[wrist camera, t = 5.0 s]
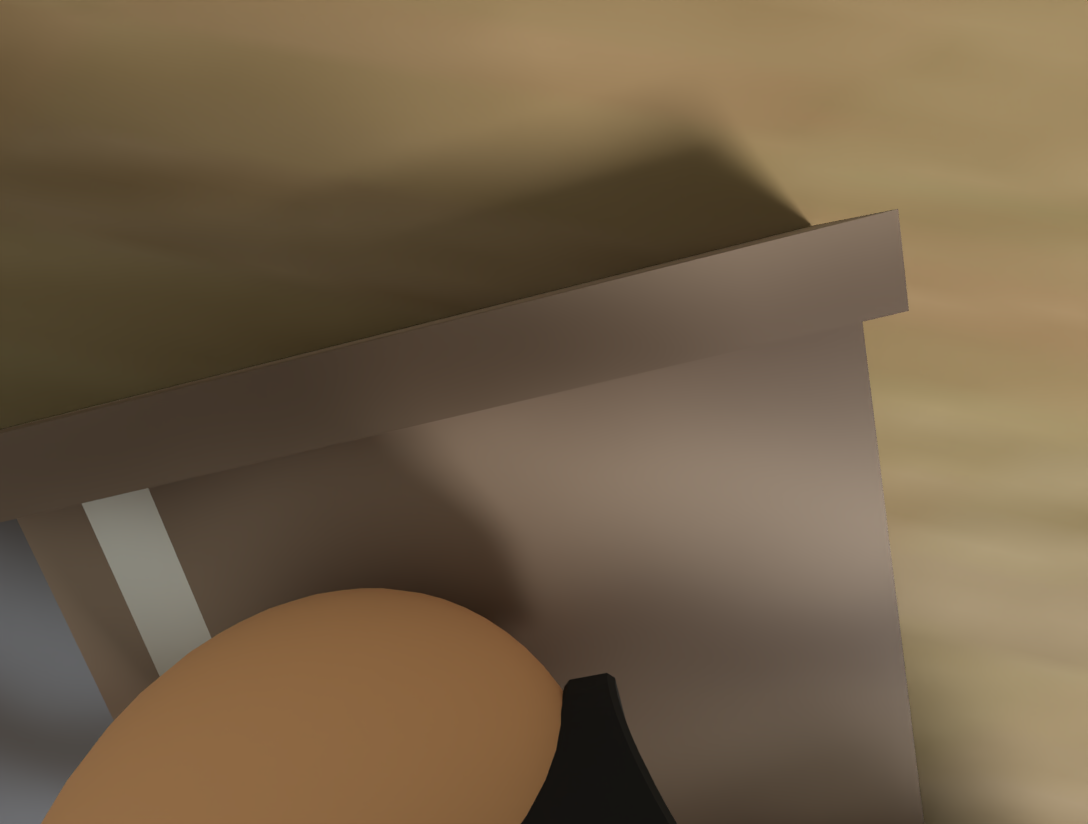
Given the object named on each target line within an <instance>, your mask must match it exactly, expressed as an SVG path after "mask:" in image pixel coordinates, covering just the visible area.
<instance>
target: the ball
mask: <svg viewBox="0 0 1088 824" xmlns="http://www.w3.org/2000/svg"><path fill="white" fill-rule="evenodd" d="M562 698H563V691H562V689H561V688H560V686H559V685H558V683H557V682H556V681H555V680H554V678H553V677H552V676H551V675H550V673H549V672H548V671H547V670H546V668H545V667H544V666H543V665H542V664H541V663H540V662H539V661H538V660H537V659H536V658H535V657H534V656H533V655H532V654H531V653H530V652H529V651H528V650H527V648H525V647H524V646H523V645H522V644H521V643H519V642H518V641H517V640H516V639H514V638H513V637H512V636H511V635H510V634H508V633H507V632H506V631H504V630H503V629H501V628H500V627H498V626H497V625H495V624H494V623H492V622H491V621H489V620H488V619H486V618H484V617H482V616H481V615H479V614H477V613H475V612H473V611H471V610H469V609H467V608H465V607H463V606H460V605H458V604H455V603H452V602H450V601H447V600H445V599H442V598H438V597H434V596H430V595H427V594H423V593H417V592H409V591H402V590H394V589H385V588H359V589H349V590H340V591H333V592H327V593H320V594H315V595H311V596H308V597H304V598H301V599H298V600H294V601H291V602H288V603H285V604H282V605H279V606H275V607H272V608H269V609H267V610H265V611H263V612H260V613H258V614H256V615H254V616H252V617H250V618H248V619H245V620H243V621H241V622H239V623H237V624H235V625H234V626H232V627H230V628H228V629H226V630H224V631H222V632H221V633H219V634H217V635H216V636H214V637H213V638H211V639H209V640H208V641H206V642H205V643H203V644H202V645H200V646H199V647H197V648H195V649H194V650H192V651H191V652H189V653H188V654H187V655H186V656H184V657H183V658H182V659H181V660H180V661H178V662H177V663H176V664H175V665H173V666H172V667H171V668H170V669H169V670H167V671H166V672H165V673H164V674H163V675H161V676H160V677H159V678H158V679H157V680H155V681H154V682H153V683H152V684H151V685H149V686H148V687H147V688H146V689H145V690H143V691H142V692H141V693H140V694H139V695H138V696H137V697H136V698H135V699H134V700H133V701H132V702H131V703H130V704H129V705H128V707H127V708H126V709H125V710H124V711H123V712H122V713H121V714H120V715H119V716H118V717H117V718H116V719H115V720H114V721H113V722H112V723H111V724H110V725H109V727H108V728H107V729H106V730H105V732H104V733H103V734H102V736H101V737H100V738H99V740H98V741H97V742H96V743H95V745H94V746H93V747H92V749H91V750H90V751H89V753H88V754H87V755H86V756H85V758H84V759H83V760H82V762H81V763H80V764H79V766H78V767H77V768H76V770H75V771H74V772H73V773H72V775H71V776H70V777H69V779H68V780H67V781H66V783H65V785H64V786H63V788H62V790H61V791H60V793H59V795H58V796H57V798H56V800H55V801H54V803H53V804H52V806H51V808H50V809H49V811H48V813H47V814H46V816H45V818H44V819H43V821H42V823H41V824H521V823H522V821H523V820H524V818H525V817H526V816H527V814H528V812H529V810H530V808H531V806H532V804H533V803H534V801H535V799H536V797H537V795H538V793H539V791H540V789H541V787H542V786H543V784H544V782H545V780H546V777H547V774H548V771H549V768H550V766H551V763H552V760H553V757H554V754H555V751H556V748H557V741H558V736H559V731H560V726H561V709H562Z"/></svg>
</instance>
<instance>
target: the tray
mask: <svg viewBox="0 0 1088 824" xmlns="http://www.w3.org/2000/svg"><path fill="white" fill-rule="evenodd" d="M905 311H909V309H908V299H907V290H906V280H905V271H904V261H903V252H902V242H901V232H900V223H899V213H898V209H895V210H890V211H885V212H880V213H875V214H870V215H865V216H860V217H855V218H850V219H844V220H839V221H834V222H829V223H824V224H819V225H814V226H810V227H806V228H802V229H798V230H794V231H790V232H786V233H782V234H778V235H774V236H770V237H766V238H762V239H758V240H754V241H750V242H746V243H742V244H738V245H734V246H730V247H726V248H722V249H718V250H714V251H710V252H706V253H702V254H698V255H694V256H690V257H686V258H682V259H678V260H674V261H670V262H666V263H662V264H658V265H654V266H650V267H646V268H642V269H638V270H634V271H630V272H626V273H622V274H618V275H614V276H611V277H607V278H603V279H599V280H595V281H591V282H587V283H583V284H579V285H575V286H571V287H567V288H563V289H559V290H555V291H551V292H547V293H543V294H539V295H535V296H531V297H527V298H523V299H519V300H515V301H511V302H507V303H503V304H499V305H495V306H491V307H487V308H483V309H479V310H475V311H471V312H467V313H463V314H459V315H455V316H451V317H447V318H443V319H439V320H435V321H431V322H427V323H423V324H419V325H415V326H411V327H407V328H403V329H399V330H395V331H391V332H387V333H383V334H379V335H375V336H371V337H367V338H363V339H359V340H355V341H351V342H347V343H343V344H339V345H336V346H332V347H328V348H324V349H320V350H316V351H312V352H308V353H304V354H300V355H296V356H292V357H288V358H284V359H280V360H276V361H272V362H268V363H264V364H260V365H256V366H252V367H248V368H244V369H240V370H236V371H232V372H228V373H224V374H220V375H216V376H212V377H208V378H204V379H200V380H196V381H192V382H188V383H184V384H180V385H176V386H172V387H168V388H164V389H160V390H156V391H152V392H148V393H144V394H140V395H136V396H132V397H128V398H124V399H120V400H116V401H112V402H108V403H104V404H100V405H96V406H92V407H88V408H84V409H80V410H76V411H72V412H68V413H64V414H61V415H57V416H53V417H49V418H45V419H41V420H37V421H33V422H29V423H25V424H21V425H17V426H13V427H9V428H5V429H1V430H0V824H41V823H42V821H43V819H44V818H45V816H46V814H47V813H48V811H49V809H50V808H51V806H52V804H53V803H54V801H55V800H56V798H57V796H58V795H59V793H60V791H61V790H62V788H63V786H64V785H65V783H66V781H67V780H68V779H69V777H70V776H71V775H72V773H73V772H74V771H75V770H76V768H77V767H78V766H79V764H80V763H81V762H82V760H83V759H84V758H85V756H86V755H87V754H88V753H89V751H90V750H91V749H92V747H93V746H94V745H95V743H96V742H97V741H98V740H99V738H100V737H101V736H102V734H103V733H104V732H105V730H106V729H107V728H108V727H109V725H110V724H111V723H112V722H113V721H114V720H115V719H116V718H117V717H118V716H119V715H120V714H121V713H122V712H123V711H124V710H125V709H126V708H127V707H128V705H129V704H130V703H131V702H132V701H133V700H134V699H135V698H136V697H137V696H138V695H139V694H140V693H141V692H142V691H143V690H145V689H146V688H147V687H148V686H149V685H151V684H152V683H153V682H154V681H155V680H157V679H158V678H159V677H160V676H161V675H163V674H164V673H165V672H166V671H167V670H169V669H170V668H171V667H172V666H173V665H175V664H176V663H177V662H178V661H180V660H181V659H182V658H183V657H184V656H186V655H187V654H188V653H189V652H191V651H192V650H194V649H195V648H197V647H199V646H200V645H202V644H203V643H205V642H206V641H208V640H209V639H211V638H213V637H214V636H216V635H217V634H219V633H221V632H222V631H224V630H226V629H228V628H230V627H232V626H234V625H235V624H237V623H239V622H241V621H243V620H245V619H248V618H250V617H252V616H254V615H256V614H258V613H260V612H263V611H265V610H267V609H269V608H272V607H275V606H279V605H282V604H285V603H288V602H291V601H294V600H298V599H301V598H304V597H308V596H311V595H315V594H320V593H327V592H333V591H340V590H349V589H359V588H385V589H394V590H402V591H409V592H417V593H423V594H427V595H430V596H434V597H438V598H442V599H445V600H447V601H450V602H452V603H455V604H458V605H460V606H463V607H465V608H467V609H469V610H471V611H473V612H475V613H477V614H479V615H481V616H482V617H484V618H486V619H488V620H489V621H491V622H492V623H494V624H495V625H497V626H498V627H500V628H501V629H503V630H504V631H506V632H507V633H508V634H510V635H511V636H512V637H513V638H514V639H516V640H517V641H518V642H519V643H521V644H522V645H523V646H524V647H525V648H527V650H528V651H529V652H530V653H531V654H532V655H533V656H534V657H535V658H536V659H537V660H538V661H539V662H540V663H541V664H542V665H543V666H544V667H545V668H546V670H547V671H548V672H549V673H550V675H551V676H552V677H553V678H554V680H555V681H556V682H557V683H558V685H559V686H560V688H561V689H562V691H563V690H564V686H565V685H566V684H567V682H568V681H569V680H570V679H576V678H581V677H587V676H592V675H597V674H603V673H608V674H610V675H611V676H613V677H615V680H616V684H617V688H618V691H619V695H620V699H621V703H622V707H623V711H624V715H625V719H626V722H627V725H628V727H629V730H630V733H631V735H632V737H633V740H634V742H635V744H636V746H637V749H638V751H639V753H640V755H641V757H642V759H643V761H644V763H645V765H646V767H647V769H648V771H649V773H650V775H651V777H652V779H653V781H654V783H655V785H656V787H657V789H658V791H659V793H660V794H661V796H662V798H663V800H664V802H665V804H666V805H667V807H668V809H669V811H670V812H671V814H672V816H673V818H674V819H675V821H676V823H677V824H924V819H923V811H922V803H921V794H920V786H919V778H918V770H917V762H916V754H915V746H914V738H913V730H912V721H911V713H910V705H909V697H908V689H907V681H906V673H905V665H904V656H903V648H902V640H901V632H900V624H899V616H898V608H897V600H896V591H895V583H894V575H893V567H892V559H891V551H890V543H889V535H888V527H887V518H886V510H885V502H884V494H883V486H882V478H881V470H880V462H879V453H878V445H877V437H876V429H875V421H874V413H873V405H872V397H871V388H870V380H869V372H868V364H867V356H866V348H865V340H864V332H863V324H862V322H863V321H867V320H871V319H875V318H880V317H884V316H888V315H893V314H897V313H901V312H905Z"/></svg>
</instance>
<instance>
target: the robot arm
mask: <svg viewBox="0 0 1088 824" xmlns="http://www.w3.org/2000/svg"><path fill="white" fill-rule="evenodd" d="M521 824H677V823H676V821H675V819H674V818H673V816H672V814H671V812H670V811H669V809H668V807H667V805H666V804H665V802H664V800H663V798H662V796H661V794H660V793H659V791H658V789H657V787H656V785H655V783H654V781H653V779H652V777H651V775H650V773H649V771H648V769H647V767H646V765H645V763H644V761H643V759H642V757H641V755H640V753H639V751H638V749H637V746H636V744H635V742H634V740H633V737H632V735H631V733H630V730H629V727H628V725H627V722H626V719H625V715H624V711H623V707H622V703H621V699H620V695H619V691H618V688H617V684H616V680H615V677H613V676H611V675H610V674H608V673H603V674H597V675H592V676H587V677H581V678H576V679H570V680H569V681H568V682H567V684H566V685H565V686H564V690H563V698H562V709H561V726H560V731H559V736H558V741H557V748H556V751H555V754H554V757H553V760H552V763H551V766H550V768H549V771H548V774H547V777H546V780H545V782H544V784H543V786H542V787H541V789H540V791H539V793H538V795H537V797H536V799H535V801H534V803H533V804H532V806H531V808H530V810H529V812H528V814H527V816H526V817H525V818H524V820H523V821H522V823H521Z"/></svg>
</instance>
